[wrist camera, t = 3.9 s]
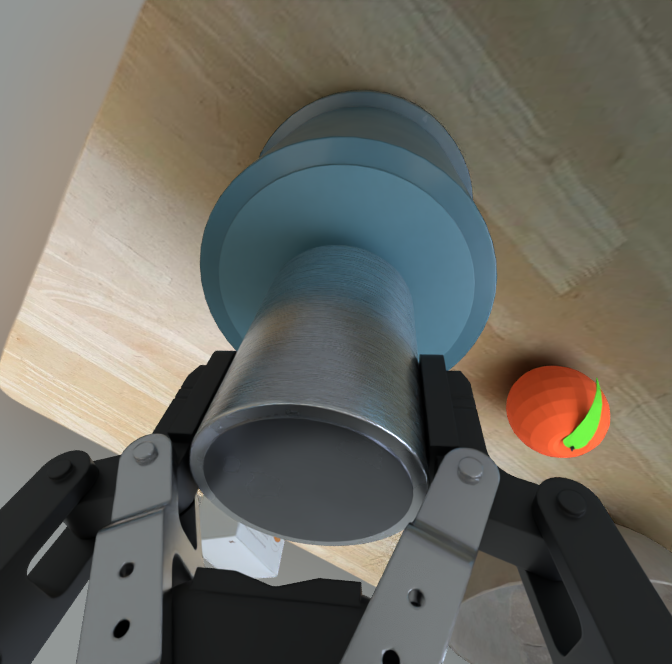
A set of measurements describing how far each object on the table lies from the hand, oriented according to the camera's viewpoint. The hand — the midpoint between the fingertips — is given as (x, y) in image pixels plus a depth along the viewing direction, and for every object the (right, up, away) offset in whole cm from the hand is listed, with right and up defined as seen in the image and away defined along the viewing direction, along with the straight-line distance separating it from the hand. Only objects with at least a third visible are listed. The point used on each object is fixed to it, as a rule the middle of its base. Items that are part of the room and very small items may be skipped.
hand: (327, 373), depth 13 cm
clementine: (+18, -2, +19) cm, 26 cm away
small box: (-8, -13, +31) cm, 35 cm away
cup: (0, +2, +3) cm, 4 cm away
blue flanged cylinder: (+2, +9, +13) cm, 16 cm away
